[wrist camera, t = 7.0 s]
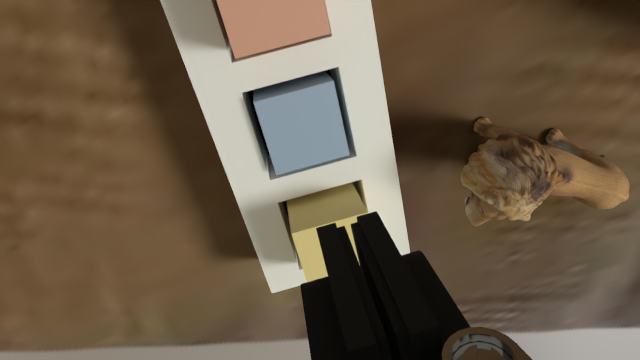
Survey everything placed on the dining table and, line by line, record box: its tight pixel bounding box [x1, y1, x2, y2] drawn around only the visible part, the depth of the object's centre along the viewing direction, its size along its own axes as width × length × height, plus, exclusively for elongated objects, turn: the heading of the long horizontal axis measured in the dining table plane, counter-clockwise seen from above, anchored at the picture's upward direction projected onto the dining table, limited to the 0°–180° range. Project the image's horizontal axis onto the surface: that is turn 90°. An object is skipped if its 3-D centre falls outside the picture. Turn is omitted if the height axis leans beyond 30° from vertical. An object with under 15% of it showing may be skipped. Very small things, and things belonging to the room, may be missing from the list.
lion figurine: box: [461, 117, 629, 226], centre depth 26 cm, size 15×5×9 cm, turn 85°
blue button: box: [253, 71, 350, 175], centre depth 23 cm, size 4×4×4 cm
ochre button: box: [286, 182, 368, 282], centre depth 24 cm, size 4×4×4 cm
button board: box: [160, 0, 410, 293], centre depth 24 cm, size 22×10×4 cm, turn 13°
